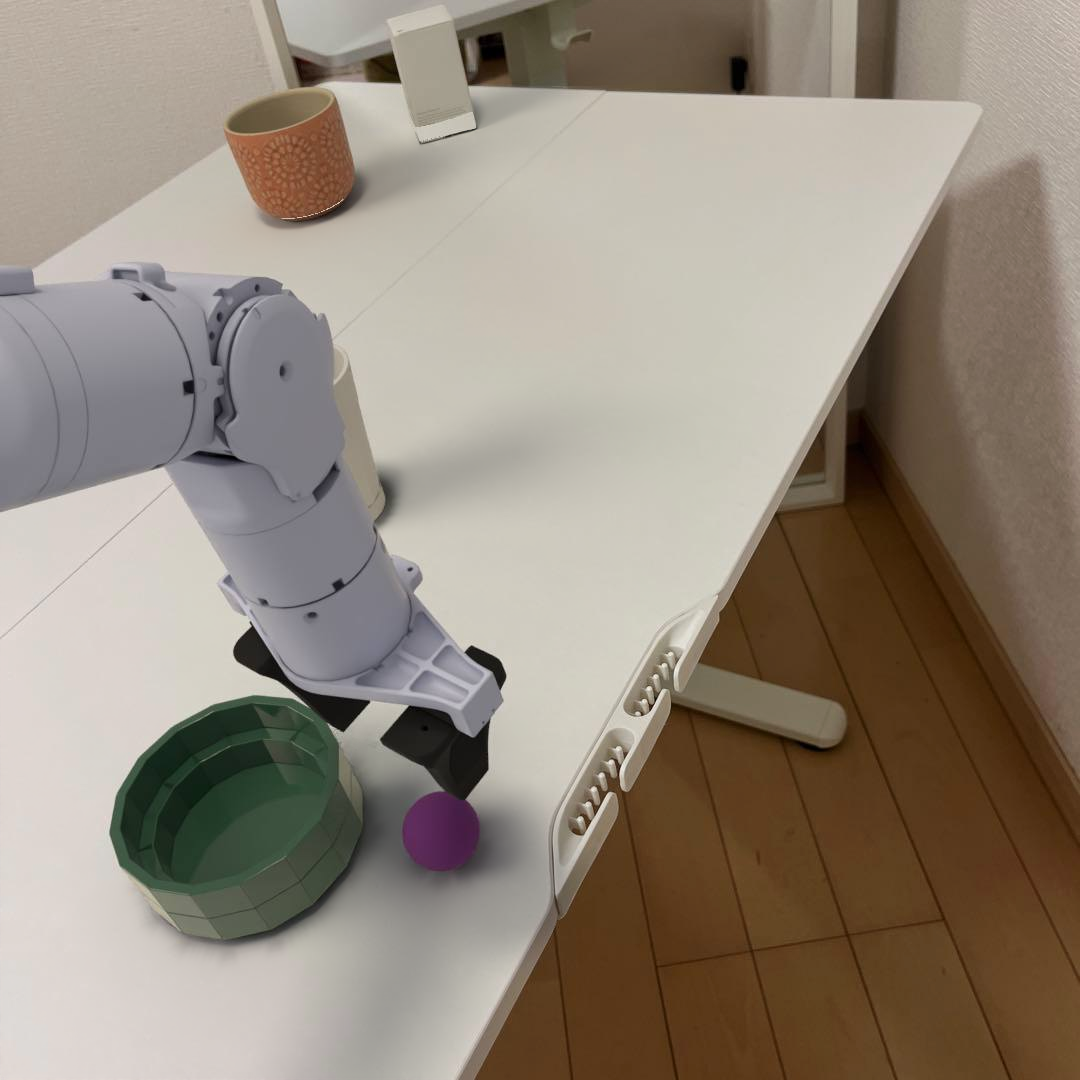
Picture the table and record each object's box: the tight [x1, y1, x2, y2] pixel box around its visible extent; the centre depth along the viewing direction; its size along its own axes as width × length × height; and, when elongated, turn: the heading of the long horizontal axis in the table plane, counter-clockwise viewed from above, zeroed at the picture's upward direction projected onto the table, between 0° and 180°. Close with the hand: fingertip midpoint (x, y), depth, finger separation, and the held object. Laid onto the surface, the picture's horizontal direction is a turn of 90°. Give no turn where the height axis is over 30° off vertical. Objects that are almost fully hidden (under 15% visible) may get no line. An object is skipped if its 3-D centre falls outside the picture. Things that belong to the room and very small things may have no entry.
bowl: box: [108, 694, 364, 941], centre depth 59 cm, size 12×12×5 cm
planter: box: [222, 86, 356, 222], centre depth 120 cm, size 12×12×11 cm
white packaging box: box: [385, 3, 474, 144], centre depth 130 cm, size 7×7×13 cm
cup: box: [333, 343, 386, 522], centre depth 78 cm, size 8×8×12 cm
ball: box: [401, 790, 481, 873], centre depth 57 cm, size 4×4×4 cm
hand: (409, 746), depth 52 cm, fingers open, 7 cm apart
